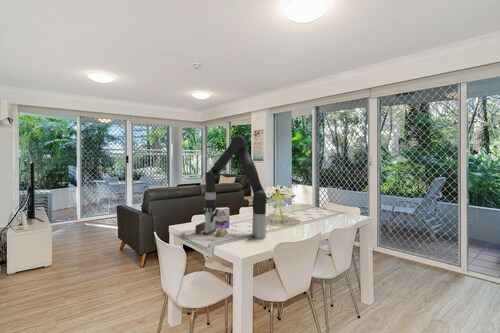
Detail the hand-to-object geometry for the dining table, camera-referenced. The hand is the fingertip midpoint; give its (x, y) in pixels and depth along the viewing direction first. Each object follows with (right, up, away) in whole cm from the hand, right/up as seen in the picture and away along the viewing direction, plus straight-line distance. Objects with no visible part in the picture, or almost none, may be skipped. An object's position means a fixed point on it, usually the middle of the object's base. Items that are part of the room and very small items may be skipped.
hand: (210, 222), depth 203 cm
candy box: (+5, -9, +16) cm, 19 cm away
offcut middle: (+9, -8, -3) cm, 12 cm away
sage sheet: (0, -6, 0) cm, 6 cm away
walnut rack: (-3, -9, +2) cm, 10 cm away
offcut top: (+8, -7, -3) cm, 11 cm away
